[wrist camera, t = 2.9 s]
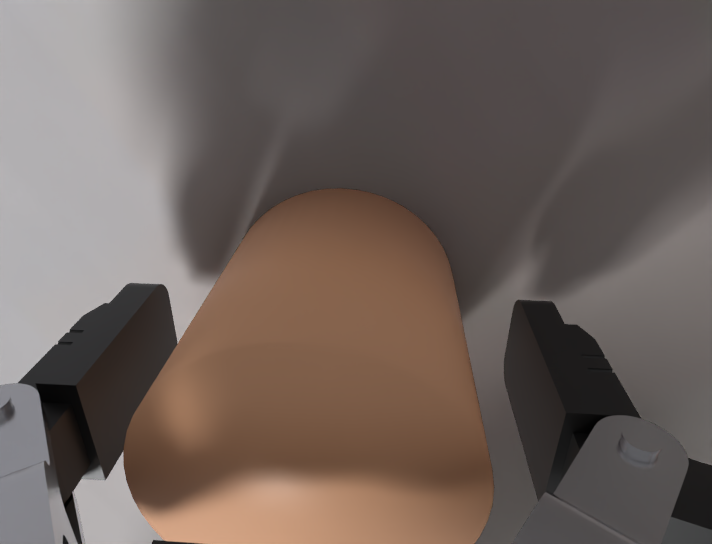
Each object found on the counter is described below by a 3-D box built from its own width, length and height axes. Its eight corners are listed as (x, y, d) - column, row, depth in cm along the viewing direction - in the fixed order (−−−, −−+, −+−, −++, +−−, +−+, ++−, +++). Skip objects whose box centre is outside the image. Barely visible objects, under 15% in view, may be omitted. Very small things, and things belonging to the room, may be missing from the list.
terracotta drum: (377, 410, 15) (368, 637, 10) (199, 321, 14) (78, 521, 9) (500, 264, 13) (577, 459, 7) (294, 142, 11) (209, 266, 6)
